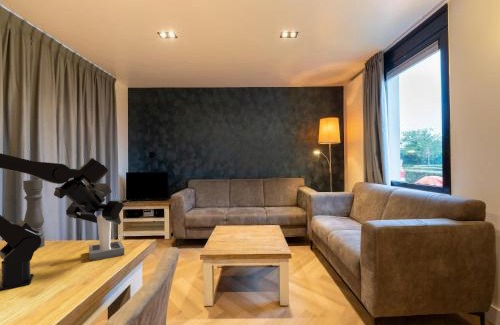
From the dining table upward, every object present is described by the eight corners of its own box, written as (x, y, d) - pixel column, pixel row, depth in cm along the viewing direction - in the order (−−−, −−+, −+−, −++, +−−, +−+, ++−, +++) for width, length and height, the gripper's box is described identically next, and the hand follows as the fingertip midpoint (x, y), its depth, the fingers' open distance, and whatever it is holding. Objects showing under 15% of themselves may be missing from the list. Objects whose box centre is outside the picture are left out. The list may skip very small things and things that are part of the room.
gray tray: (124, 255, 92) (124, 247, 92) (90, 261, 86) (90, 253, 86) (120, 247, 100) (120, 240, 100) (88, 252, 95) (88, 245, 95)
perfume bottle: (98, 250, 95) (97, 207, 95) (112, 248, 96) (111, 206, 96) (96, 254, 90) (95, 209, 90) (111, 252, 92) (110, 208, 92)
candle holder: (41, 248, 100) (40, 180, 100) (20, 250, 98) (19, 181, 97) (46, 243, 106) (45, 179, 105) (27, 245, 103) (26, 180, 103)
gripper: (119, 176, 87) (142, 204, 98) (73, 175, 92) (99, 203, 102) (100, 204, 79) (127, 232, 90) (51, 202, 84) (82, 229, 95)
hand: (108, 222), depth 95 cm, fingers open, 9 cm apart
